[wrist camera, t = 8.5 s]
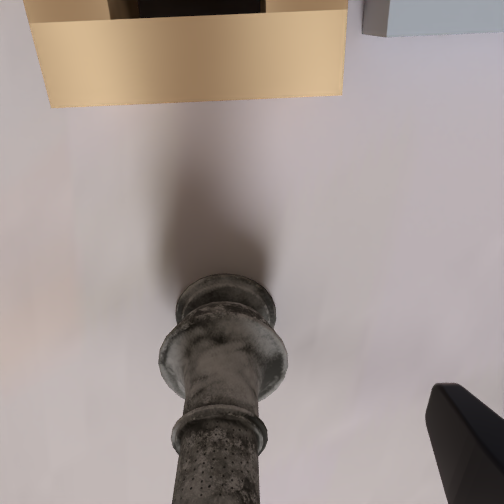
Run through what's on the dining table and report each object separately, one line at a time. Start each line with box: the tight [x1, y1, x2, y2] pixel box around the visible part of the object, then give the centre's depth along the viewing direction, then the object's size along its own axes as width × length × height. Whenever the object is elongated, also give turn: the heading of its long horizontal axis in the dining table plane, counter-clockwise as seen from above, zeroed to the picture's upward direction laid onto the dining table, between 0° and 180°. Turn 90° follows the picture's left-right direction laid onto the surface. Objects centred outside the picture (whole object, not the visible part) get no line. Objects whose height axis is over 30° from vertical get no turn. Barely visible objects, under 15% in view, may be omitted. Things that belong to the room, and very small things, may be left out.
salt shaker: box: [158, 274, 288, 504], centre depth 17 cm, size 6×6×12 cm
